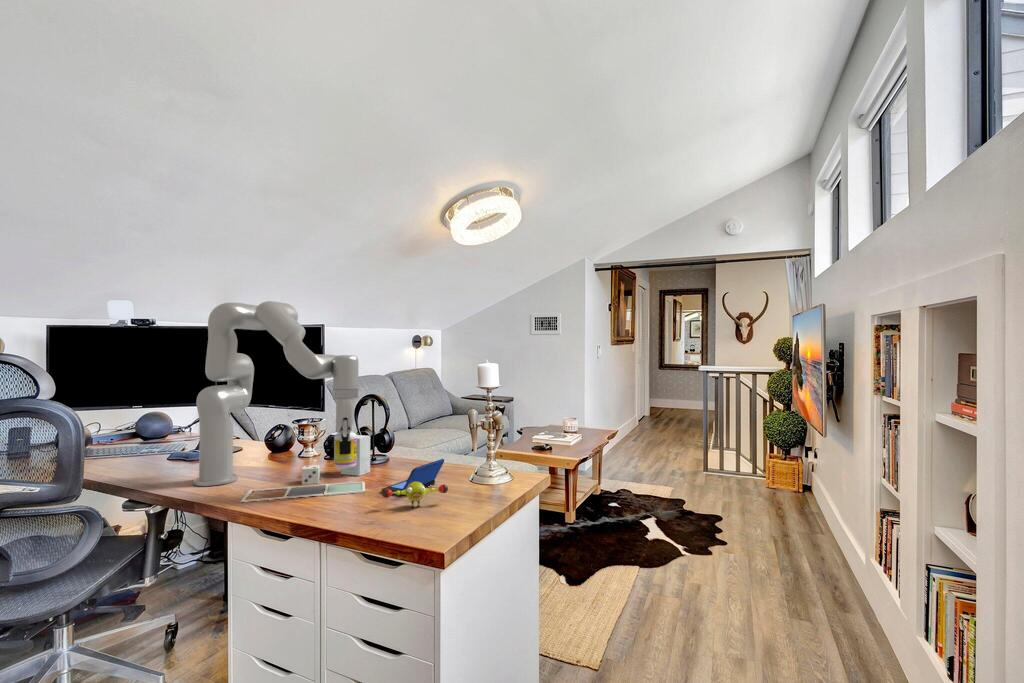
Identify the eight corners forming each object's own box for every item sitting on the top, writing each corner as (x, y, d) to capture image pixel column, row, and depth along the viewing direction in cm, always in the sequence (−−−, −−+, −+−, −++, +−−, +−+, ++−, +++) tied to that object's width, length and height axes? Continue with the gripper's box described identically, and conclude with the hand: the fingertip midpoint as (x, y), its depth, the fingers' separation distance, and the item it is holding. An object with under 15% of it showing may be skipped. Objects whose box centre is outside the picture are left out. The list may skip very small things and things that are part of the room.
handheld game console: (413, 482, 162) (413, 453, 162) (445, 487, 155) (446, 458, 156) (379, 493, 148) (379, 463, 148) (413, 500, 142) (413, 468, 142)
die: (303, 481, 163) (303, 465, 163) (319, 479, 164) (319, 464, 164) (301, 484, 158) (301, 469, 158) (318, 483, 159) (318, 468, 159)
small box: (370, 472, 174) (370, 435, 175) (359, 476, 168) (359, 438, 169) (351, 470, 177) (352, 434, 178) (340, 474, 171) (340, 437, 172)
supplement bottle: (357, 467, 151) (357, 426, 151) (334, 469, 148) (334, 427, 149) (355, 463, 157) (355, 423, 157) (333, 465, 154) (334, 424, 155)
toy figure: (382, 512, 130) (382, 487, 130) (381, 506, 135) (381, 481, 135) (449, 506, 135) (449, 482, 135) (446, 501, 140) (446, 477, 140)
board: (249, 491, 150) (249, 490, 150) (364, 482, 160) (364, 481, 160) (240, 502, 138) (240, 501, 138) (365, 492, 148) (365, 490, 149)
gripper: (334, 392, 160) (333, 447, 160) (331, 397, 144) (331, 458, 143) (358, 392, 163) (358, 446, 162) (358, 396, 146) (357, 456, 146)
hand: (345, 451), depth 153 cm, fingers closed on supplement bottle, 6 cm apart
